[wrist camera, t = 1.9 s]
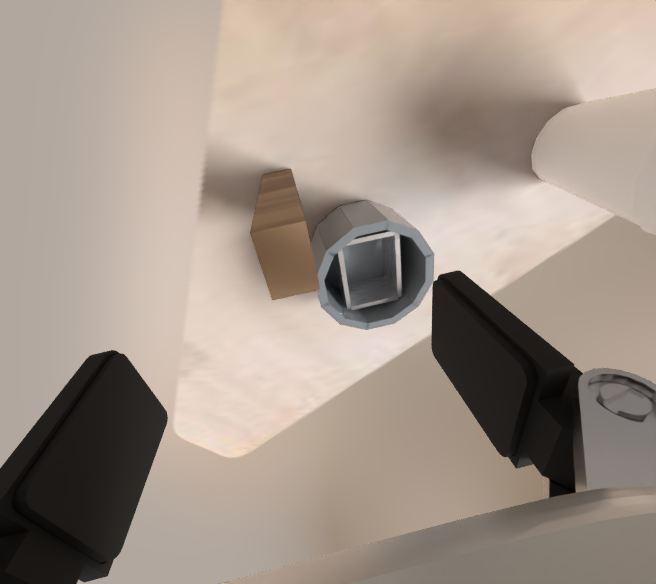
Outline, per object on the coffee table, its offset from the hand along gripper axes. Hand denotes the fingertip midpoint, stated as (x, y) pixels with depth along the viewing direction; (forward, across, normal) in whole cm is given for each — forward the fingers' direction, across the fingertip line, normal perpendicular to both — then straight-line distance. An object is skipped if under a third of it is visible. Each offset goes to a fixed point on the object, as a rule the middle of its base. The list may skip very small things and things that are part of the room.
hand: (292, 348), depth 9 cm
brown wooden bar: (+19, 0, -1) cm, 19 cm away
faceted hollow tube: (+19, -6, +6) cm, 21 cm away
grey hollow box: (+19, -6, +6) cm, 21 cm away
